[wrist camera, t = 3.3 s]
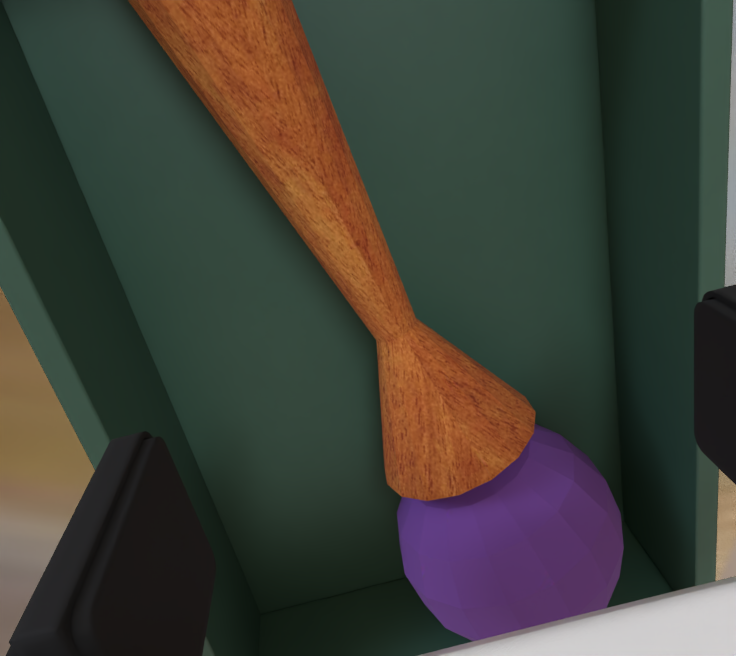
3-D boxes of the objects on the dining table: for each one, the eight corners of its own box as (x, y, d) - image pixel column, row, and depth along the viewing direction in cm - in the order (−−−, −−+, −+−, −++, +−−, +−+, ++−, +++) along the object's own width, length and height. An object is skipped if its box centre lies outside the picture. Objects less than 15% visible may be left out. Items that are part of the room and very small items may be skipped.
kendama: (309, -324, 9) (705, 615, 15) (271, -131, 14) (573, 495, 21) (-78, -132, 8) (506, 751, 15) (41, -10, 14) (425, 591, 20)
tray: (-90, -157, 12) (-287, -267, 8) (597, -322, 12) (751, -513, 8) (250, 619, 22) (239, 753, 18) (634, 521, 22) (714, 631, 18)
